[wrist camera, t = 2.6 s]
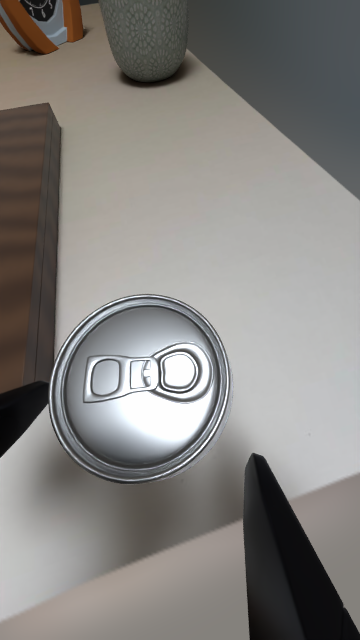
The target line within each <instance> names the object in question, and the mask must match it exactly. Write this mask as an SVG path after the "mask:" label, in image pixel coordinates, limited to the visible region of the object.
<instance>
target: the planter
mask: <svg viewBox="0 0 360 640" xmlns="http://www.w3.org/2000/svg"><path fill="white" fill-rule="evenodd" d="M99 4H100V8H101V12H102V16H103V21H104V25H105V29H106V33H107V37H108V41H109V44H110V48H111V51H112V54H113V56H114V59H115V61H116V62H117V64H118V66H119V67H120V68H121V70H122V71H123V72H124V73H125V74H126V75H127V76H128V77H130V78H131V79H133V80H136V81H140V82H155V81H160V80H163V79H166V78H168V77H170V76H172V75H173V74H174V73H175V72H176V71H177V69H178V68H179V66H180V65H181V63H182V61H183V58H184V56H185V52H186V47H187V36H188V0H99Z"/></svg>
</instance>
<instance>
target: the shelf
mask: <svg viewBox="0 0 360 640" xmlns="http://www.w3.org/2000/svg"><path fill="white" fill-rule="evenodd" d="M60 136H61V128H60V126H59V124H58V122H57V119H56V117H55V115H54V113H53V111H52V109H51V107H50V104H49V103H42V104H36V105H30V106H24V107H18V108H13V109H7V110H1V111H0V393H3V392H6V391H9V390H12V389H15V388H18V387H21V386H24V385H27V384H30V383H33V382H36V381H39V380H43V381H46V382H49V383H50V377H51V373H52V369H53V356H54V324H55V293H56V262H57V230H58V199H59V167H60Z"/></svg>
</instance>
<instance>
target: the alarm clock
mask: <svg viewBox="0 0 360 640" xmlns="http://www.w3.org/2000/svg"><path fill="white" fill-rule="evenodd" d="M0 22H1V24H2V25H3V27H4V28H5V30H6V31H7V32H8V33H9V34H10V35H11V37H12V38H13V39H14V40H15V41H16V42H17V44H19V45H20V46H21V47H22V48H24V49H25V50H28V51H31V50H34V51H36V52H38V53H43V54H48V53H51V52H53V51H55V50H57V49H59V48H58V47H57V45H59V44H62V43H64V42H66V41H68V42H75V41H77V40H79V39H81V38H83V24H82V16H81V9H80V5H79V0H0Z"/></svg>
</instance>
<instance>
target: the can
mask: <svg viewBox="0 0 360 640" xmlns="http://www.w3.org/2000/svg"><path fill="white" fill-rule="evenodd" d="M232 398H233V377H232V370H231V366H230V362H229V359H228V356H227V353H226V351H225V348H224V346H223V343H222V341H221V339H220V337H219V335H218V334H217V332H216V331H215V329H214V328H213V326H212V325H211V324H210V323H209V321H208V320H207V319H206V318H205V317H204V316H203V315H202V314H200V313H199V312H198V311H197V310H195V309H194V308H192V307H191V306H189V305H187V304H186V303H184V302H181V301H179V300H177V299H174V298H171V297H167V296H162V295H154V294H141V295H133V296H128V297H124V298H120V299H117V300H115V301H112V302H110V303H108V304H106V305H104V306H102V307H100V308H98V309H97V310H95V311H94V312H92V313H91V314H90V315H89V316H87V317H86V318H85V319H84V320H83V321H82V322H81V323H80V324H79V325H78V326H77V327H76V328H75V329H74V330H73V331H72V332H71V334H70V335H69V336H68V338H67V339H66V341H65V342H64V344H63V346H62V347H61V349H60V351H59V353H58V355H57V358H56V360H55V363H54V366H53V369H52V373H51V377H50V383H49V392H48V404H49V413H50V418H51V422H52V426H53V429H54V431H55V434H56V436H57V438H58V440H59V442H60V444H61V445H62V447H63V449H64V450H65V451H66V453H67V454H68V455H69V456H70V457H71V459H72V460H73V461H74V462H75V463H76V464H78V465H79V466H80V467H81V468H83V469H84V470H85V471H87V472H89V473H90V474H92V475H94V476H96V477H98V478H101V479H103V480H106V481H110V482H114V483H120V484H142V483H148V482H155V481H161V480H165V479H168V478H171V477H174V476H176V475H178V474H180V473H182V472H184V471H186V470H188V469H189V468H191V467H192V466H193V465H195V464H196V463H197V462H199V461H200V460H201V459H202V458H203V457H204V456H205V455H206V454H207V453H208V452H209V451H210V450H211V448H212V447H213V446H214V444H215V443H216V441H217V440H218V438H219V437H220V435H221V433H222V431H223V429H224V427H225V425H226V422H227V420H228V417H229V413H230V409H231V405H232Z"/></svg>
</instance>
